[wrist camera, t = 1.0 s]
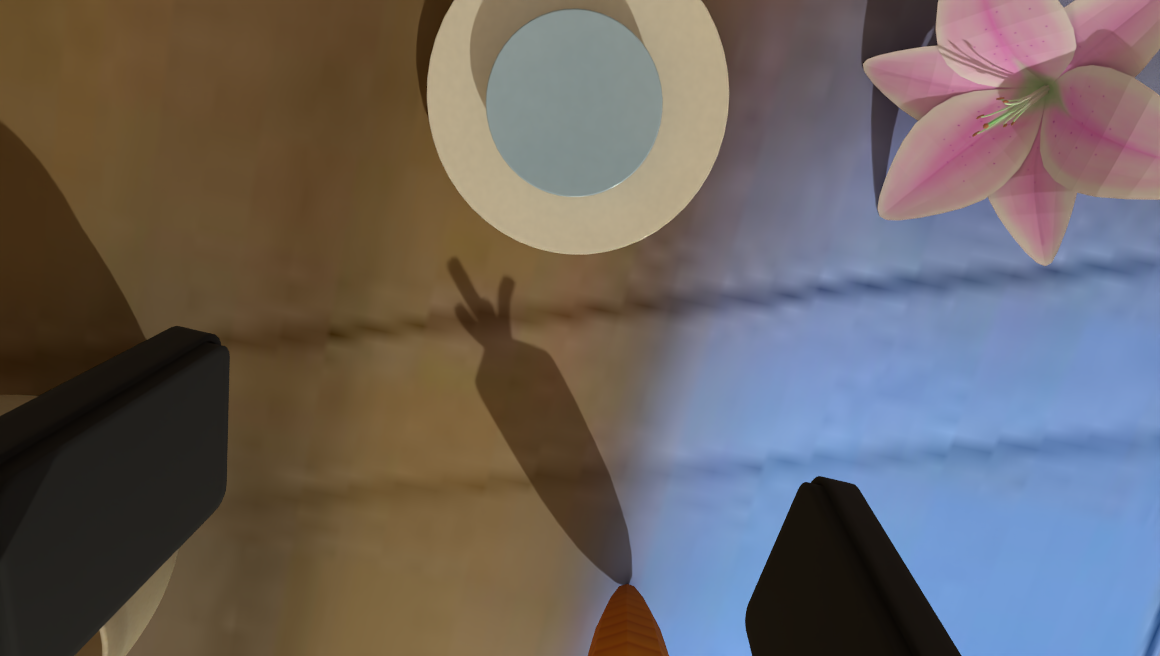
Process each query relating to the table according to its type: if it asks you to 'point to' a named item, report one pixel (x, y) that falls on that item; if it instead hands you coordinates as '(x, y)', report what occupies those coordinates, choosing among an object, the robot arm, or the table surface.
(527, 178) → the blue-grey cylinder
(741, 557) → the table surface
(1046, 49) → the lily
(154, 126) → the table surface
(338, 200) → the table surface
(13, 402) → the planter bowl
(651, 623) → the carrot
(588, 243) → the dessert plate
